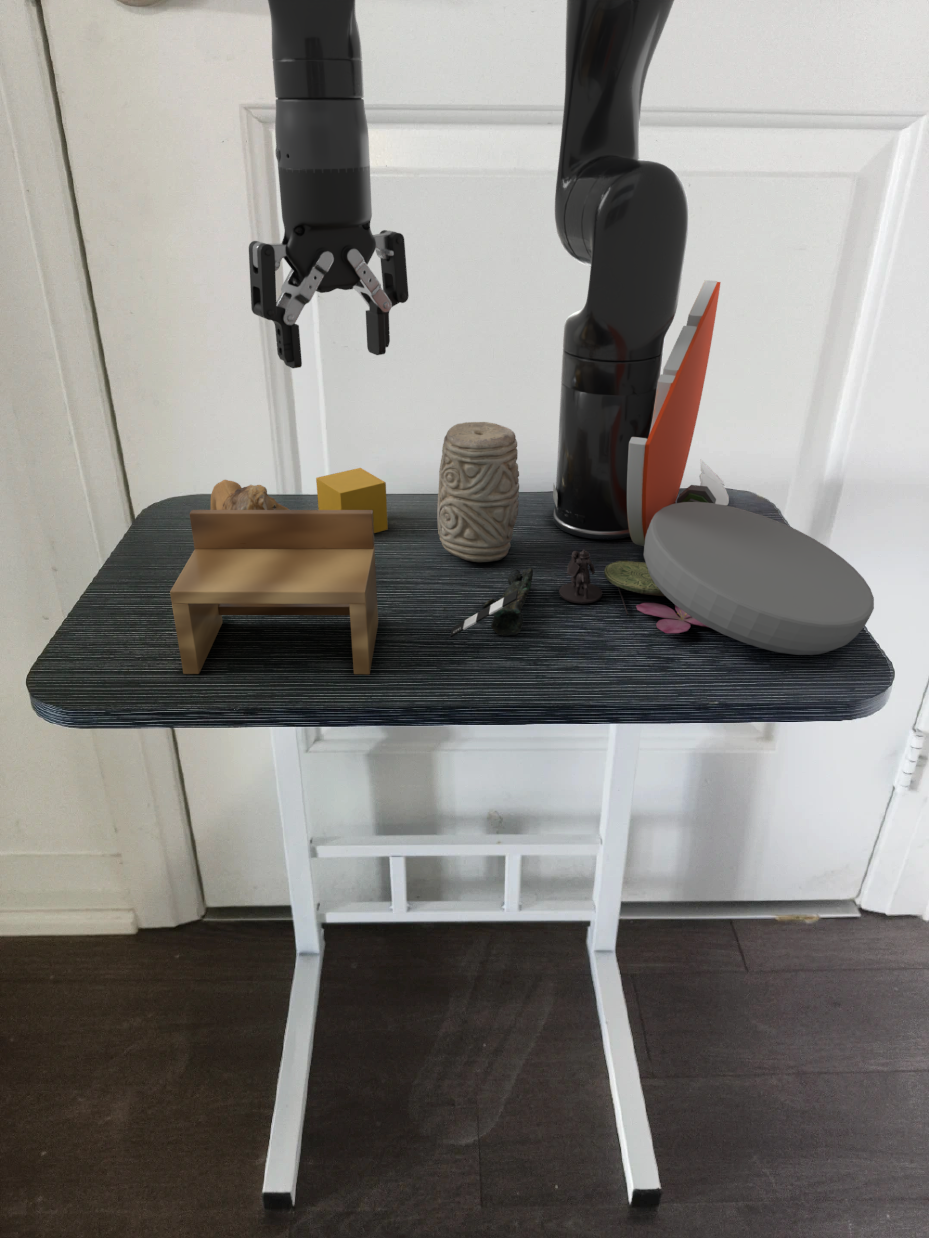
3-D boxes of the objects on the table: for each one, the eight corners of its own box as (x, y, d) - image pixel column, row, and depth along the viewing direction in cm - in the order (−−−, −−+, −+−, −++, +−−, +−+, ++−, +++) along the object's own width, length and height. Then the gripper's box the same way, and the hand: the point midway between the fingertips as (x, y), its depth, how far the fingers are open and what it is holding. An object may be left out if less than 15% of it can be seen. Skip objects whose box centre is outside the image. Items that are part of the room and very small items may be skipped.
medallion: (634, 598, 79) (635, 590, 79) (586, 566, 86) (588, 558, 85) (713, 596, 82) (715, 588, 82) (662, 565, 89) (663, 558, 88)
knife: (725, 495, 108) (686, 472, 108) (746, 464, 106) (706, 441, 106) (698, 576, 89) (651, 549, 90) (723, 541, 87) (674, 513, 87)
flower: (651, 596, 84) (652, 587, 84) (743, 615, 81) (744, 605, 80) (617, 629, 78) (618, 619, 78) (715, 651, 74) (717, 640, 74)
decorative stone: (630, 484, 83) (611, 534, 86) (684, 599, 68) (659, 656, 70) (822, 524, 86) (798, 571, 89) (916, 643, 71) (884, 695, 74)
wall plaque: (705, 277, 94) (628, 442, 74) (721, 279, 94) (648, 445, 74) (684, 439, 107) (615, 616, 87) (699, 441, 107) (632, 620, 87)
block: (362, 513, 100) (360, 467, 97) (387, 529, 96) (385, 482, 93) (319, 524, 97) (315, 477, 95) (343, 541, 93) (340, 493, 91)
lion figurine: (300, 582, 86) (292, 487, 81) (244, 597, 83) (232, 500, 79) (237, 527, 96) (227, 440, 92) (186, 539, 94) (172, 450, 90)
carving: (525, 564, 89) (529, 438, 83) (445, 571, 87) (443, 444, 81) (508, 536, 94) (511, 416, 88) (432, 543, 93) (430, 421, 87)
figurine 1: (450, 636, 75) (470, 560, 85) (481, 672, 76) (497, 592, 86) (515, 598, 72) (528, 524, 82) (546, 636, 74) (555, 558, 84)
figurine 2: (614, 572, 87) (618, 531, 85) (629, 615, 80) (633, 571, 78) (554, 572, 87) (556, 531, 85) (563, 615, 80) (566, 571, 78)
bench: (183, 674, 72) (163, 553, 68) (208, 622, 79) (191, 509, 75) (369, 674, 72) (363, 553, 68) (378, 622, 79) (372, 509, 75)
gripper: (263, 168, 73) (282, 381, 81) (421, 161, 80) (424, 357, 88) (223, 162, 78) (245, 362, 86) (375, 156, 86) (382, 341, 93)
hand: (336, 359), depth 87 cm, fingers open, 8 cm apart
